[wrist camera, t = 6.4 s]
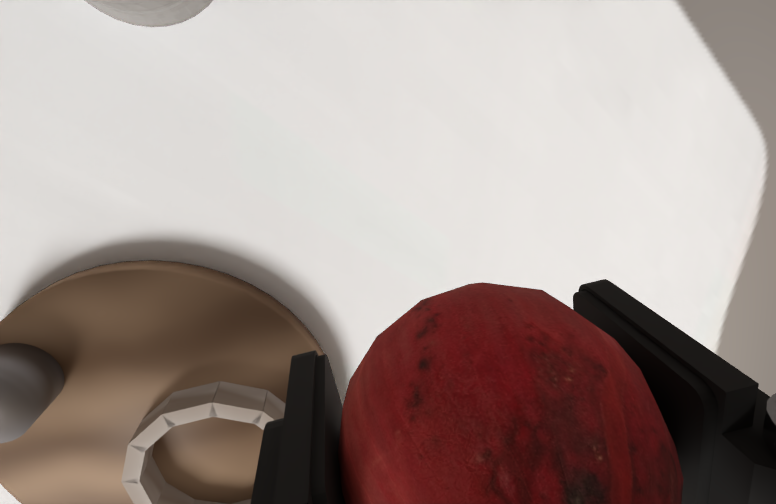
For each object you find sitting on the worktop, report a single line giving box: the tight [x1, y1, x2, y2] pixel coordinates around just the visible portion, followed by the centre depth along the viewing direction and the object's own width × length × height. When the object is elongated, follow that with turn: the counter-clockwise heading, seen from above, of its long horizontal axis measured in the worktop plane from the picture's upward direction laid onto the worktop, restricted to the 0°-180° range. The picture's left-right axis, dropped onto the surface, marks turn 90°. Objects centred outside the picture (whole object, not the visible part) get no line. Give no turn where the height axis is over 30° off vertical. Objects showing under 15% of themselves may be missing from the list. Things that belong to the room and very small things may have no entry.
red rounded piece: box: [338, 283, 683, 504], centre depth 8 cm, size 6×6×8 cm
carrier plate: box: [0, 260, 324, 504], centre depth 27 cm, size 22×22×4 cm
